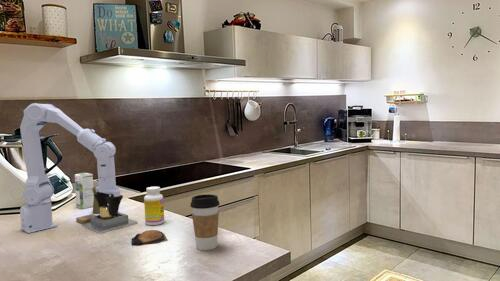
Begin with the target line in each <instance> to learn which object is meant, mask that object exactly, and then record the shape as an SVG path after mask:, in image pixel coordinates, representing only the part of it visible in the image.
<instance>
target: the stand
mask: <svg viewBox="0 0 500 281" xmlns="http://www.w3.org/2000/svg"><path fill="white" fill-rule="evenodd" d="M96 215H97V214H93V213H91V214H87V215H83V216H78V217H75V218H76V219H75V220H76V223H79V224H81V225H82V224H84V223H88V222H91V218H90V217H92V216H96Z"/></svg>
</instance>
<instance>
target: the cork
mask: <svg viewBox="0 0 500 281" xmlns="http://www.w3.org/2000/svg"><path fill="white" fill-rule="evenodd" d="M97 186H99V184H97V185H93V189H92V191H93V193H94V194H97V193H98V192H96V187H97ZM92 214H93V215H100V208H99V205H98V202H97V200H96V199H95V197H94V201H93V207H92Z"/></svg>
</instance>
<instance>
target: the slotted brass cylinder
mask: <svg viewBox="0 0 500 281" xmlns="http://www.w3.org/2000/svg"><path fill="white" fill-rule="evenodd" d="M99 215H100V219H103V220H107V219H111V218H115V216H111V214H110V210H109V205H103V206H101V207H100V214H99Z"/></svg>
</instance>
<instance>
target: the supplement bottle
mask: <svg viewBox="0 0 500 281" xmlns="http://www.w3.org/2000/svg"><path fill="white" fill-rule="evenodd" d="M145 192H146V194H145V196H144V197H143V200H144V202H143V204H144V220H145V224H146V225H147V226H157V225H162V224H163V223H164V222H165V208H164V207H165V206H164V196H163V194H161V193H160V192H161V187H160V186H150V187H149V186H148V187H146V191H145Z"/></svg>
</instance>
